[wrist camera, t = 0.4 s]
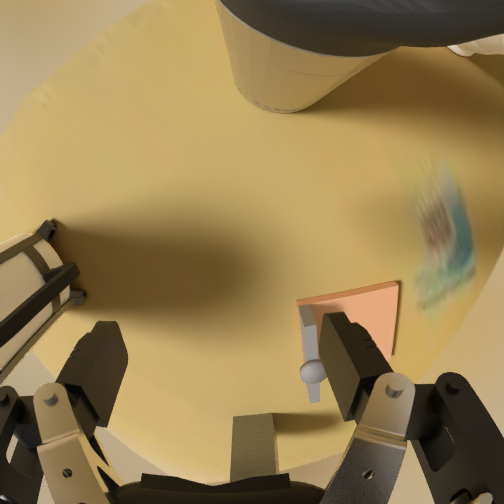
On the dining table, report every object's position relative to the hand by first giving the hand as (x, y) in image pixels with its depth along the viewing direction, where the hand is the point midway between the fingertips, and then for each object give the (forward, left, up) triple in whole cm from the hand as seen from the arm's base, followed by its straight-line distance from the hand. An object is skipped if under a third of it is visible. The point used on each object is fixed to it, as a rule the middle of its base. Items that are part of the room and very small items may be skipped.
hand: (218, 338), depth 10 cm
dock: (+11, +15, -19) cm, 27 cm away
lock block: (+31, +7, -19) cm, 37 cm away
